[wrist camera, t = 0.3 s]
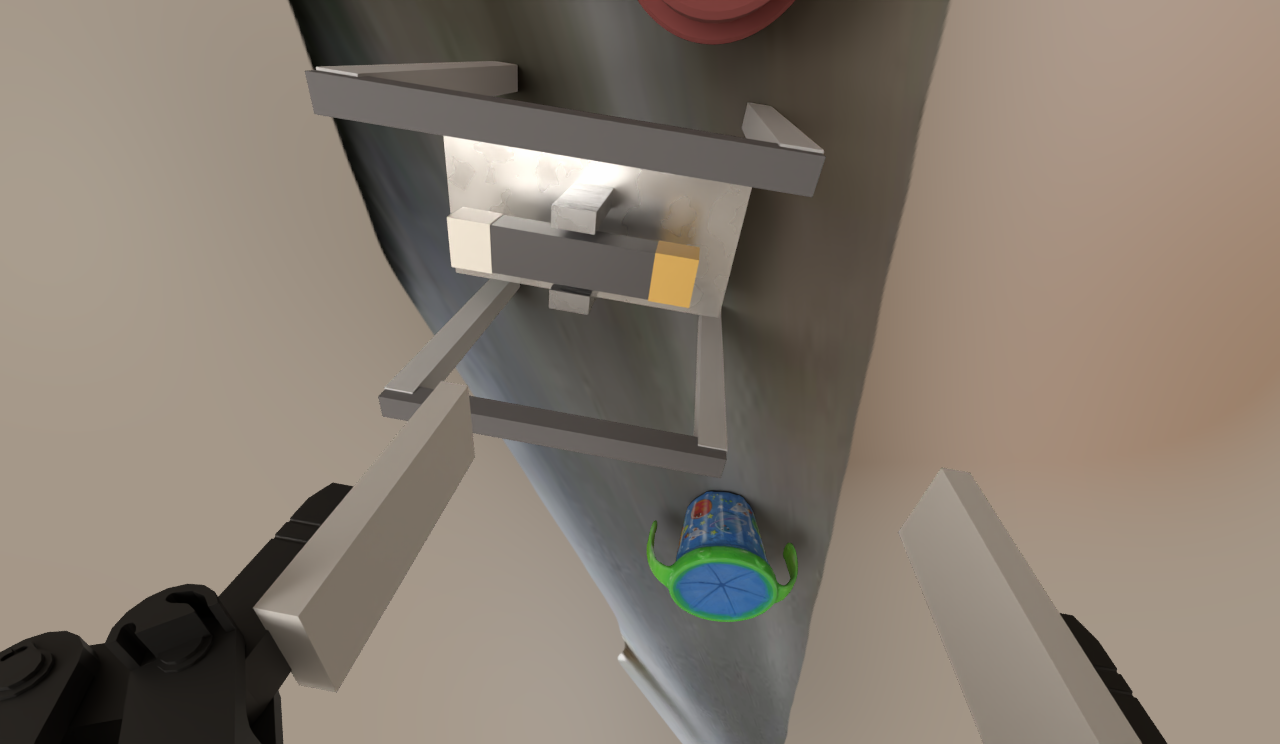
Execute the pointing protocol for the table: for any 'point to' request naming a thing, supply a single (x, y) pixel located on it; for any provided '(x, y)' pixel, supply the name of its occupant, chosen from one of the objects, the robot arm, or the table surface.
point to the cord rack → (468, 110)
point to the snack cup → (722, 562)
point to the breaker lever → (573, 256)
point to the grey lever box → (602, 211)
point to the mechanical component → (714, 17)
